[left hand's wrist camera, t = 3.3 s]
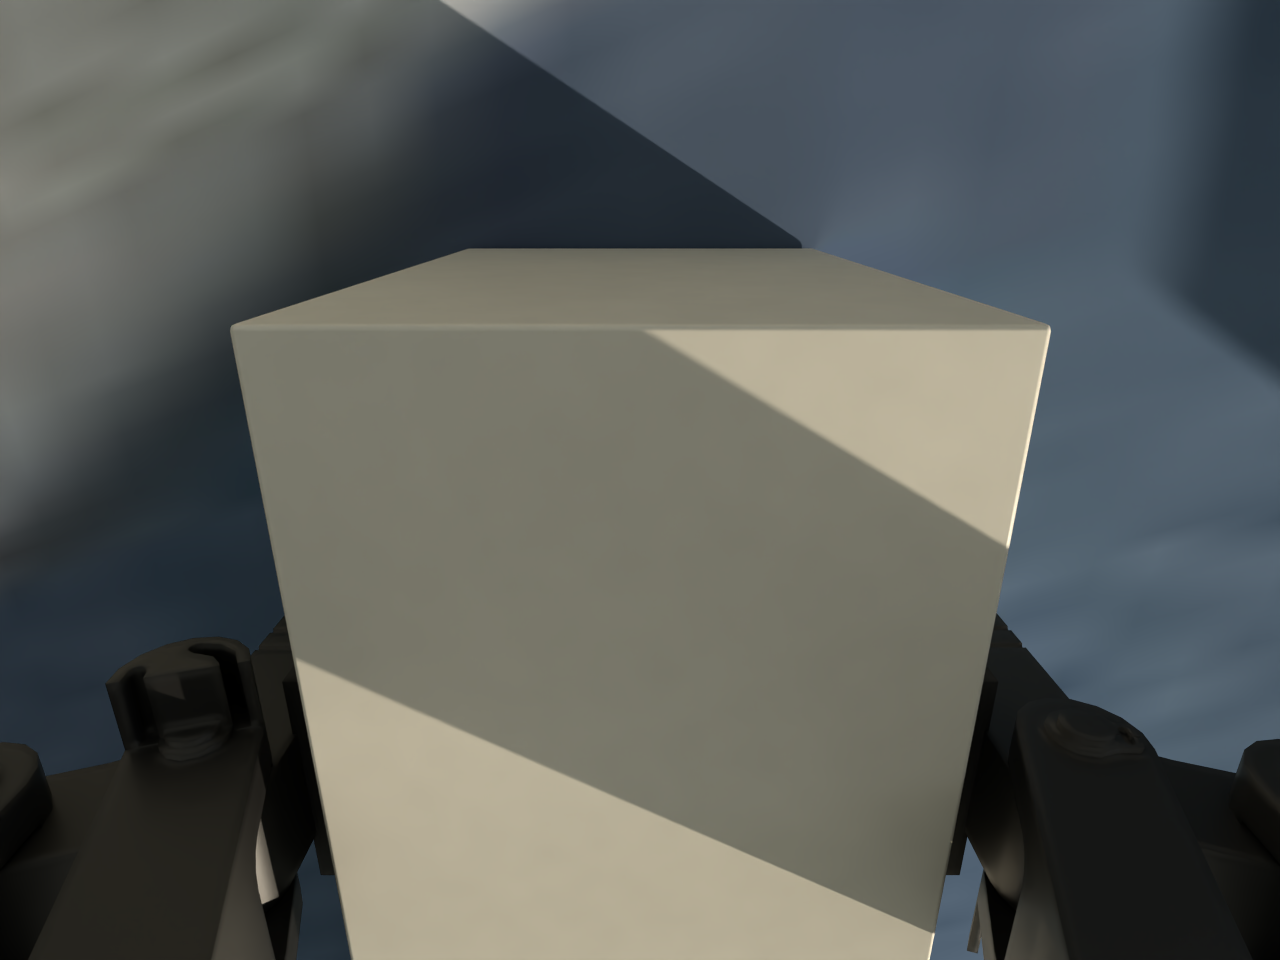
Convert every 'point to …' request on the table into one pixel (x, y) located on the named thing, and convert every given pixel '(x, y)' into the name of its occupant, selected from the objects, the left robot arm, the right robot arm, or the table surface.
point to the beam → (640, 594)
